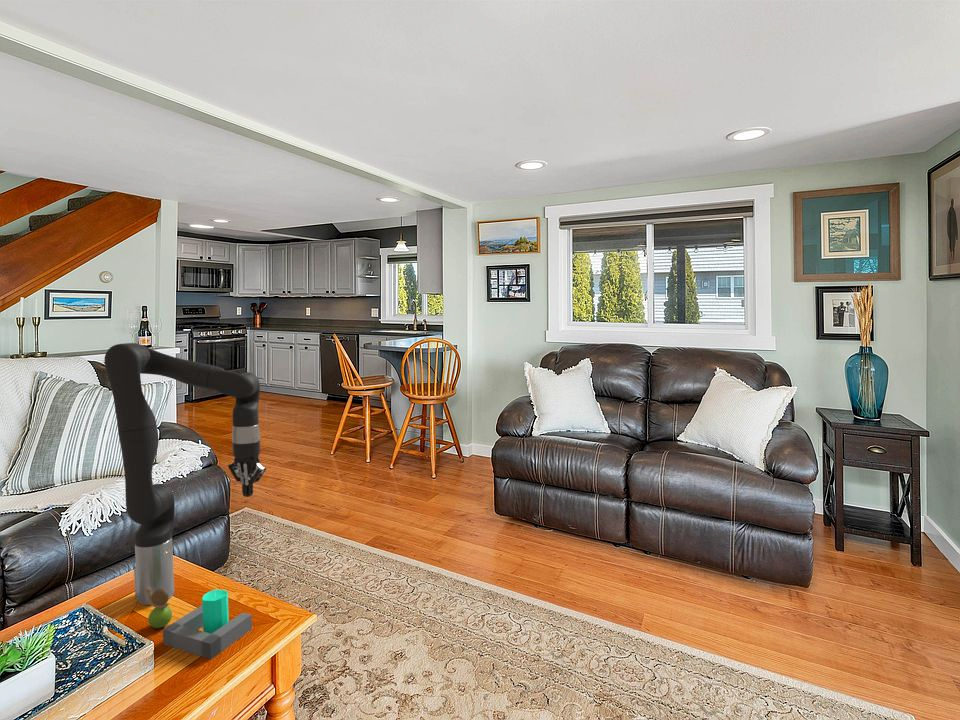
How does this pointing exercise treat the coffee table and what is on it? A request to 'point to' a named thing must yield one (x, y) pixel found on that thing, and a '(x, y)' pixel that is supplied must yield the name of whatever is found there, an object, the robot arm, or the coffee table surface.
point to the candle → (215, 610)
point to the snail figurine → (158, 607)
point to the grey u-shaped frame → (204, 634)
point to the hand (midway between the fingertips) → (247, 495)
